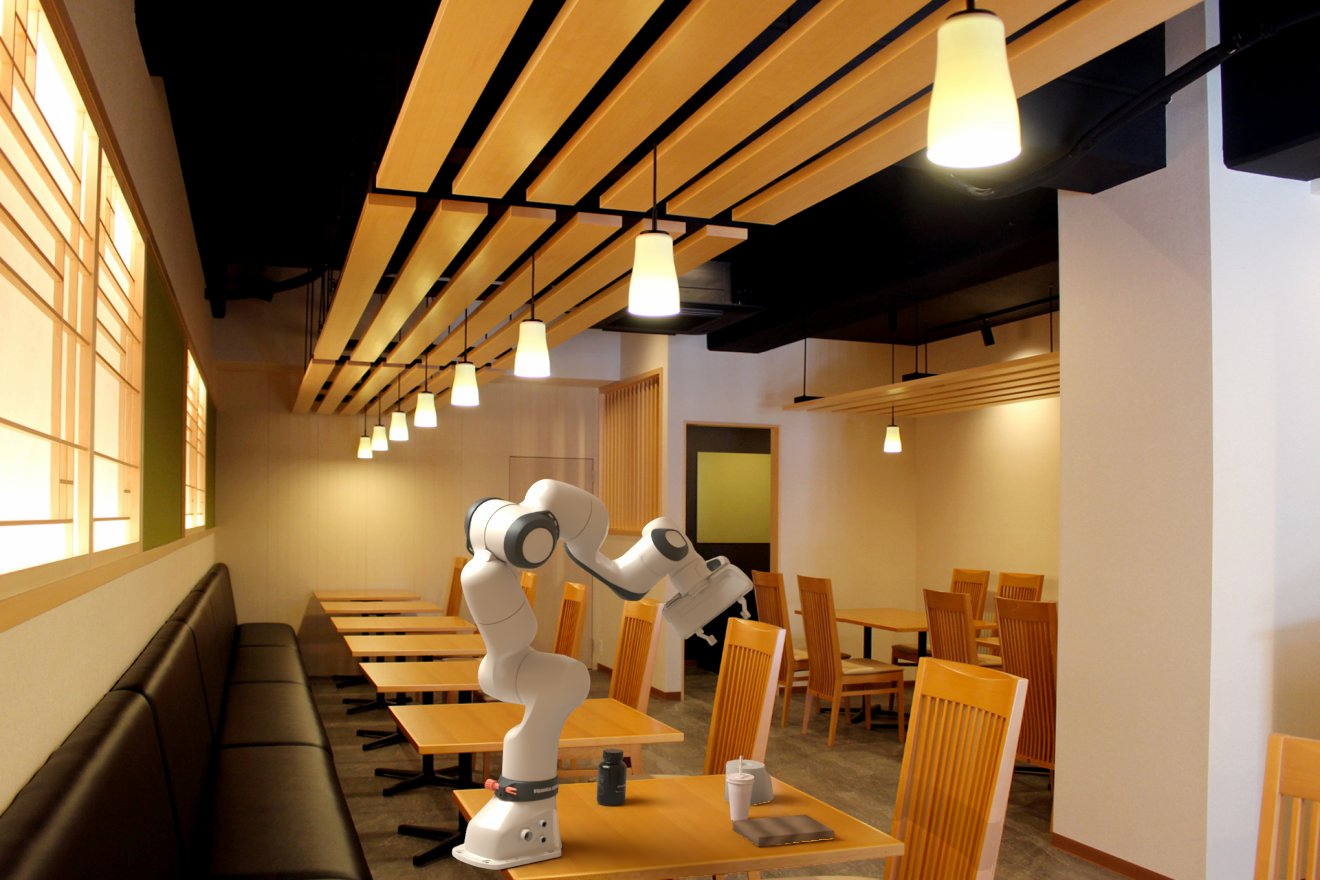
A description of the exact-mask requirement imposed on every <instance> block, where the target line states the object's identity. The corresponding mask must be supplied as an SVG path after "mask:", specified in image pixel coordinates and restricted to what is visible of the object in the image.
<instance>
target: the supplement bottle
mask: <svg viewBox="0 0 1320 880" xmlns="http://www.w3.org/2000/svg"><path fill="white" fill-rule="evenodd" d="M601 756H602V757H601V758H602V761H599V764H598V765H597V784H596V802H597V804H599V805H601V806H605V807H618V806H619V807H620V806H622V805H624V804H625V803H626V795H627V773H628V771H627V770H628V769H627V768H628V767H627V764H626V763H625V762H624V761H623V760H624V751H623V750H622V749H619V748H606V749H603V751H602V755H601Z"/></svg>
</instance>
